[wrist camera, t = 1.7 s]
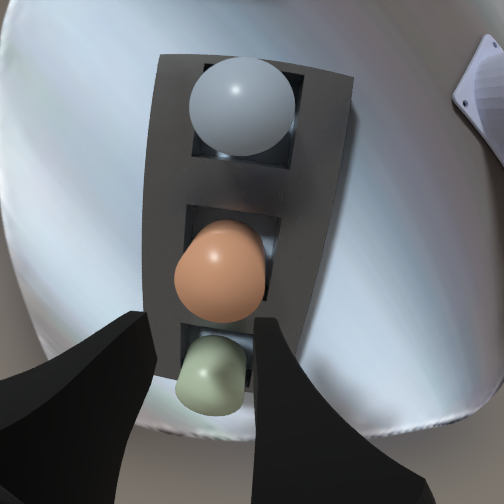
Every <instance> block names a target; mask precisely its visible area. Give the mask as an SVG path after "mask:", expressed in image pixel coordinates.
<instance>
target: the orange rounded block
mask: <svg viewBox="0 0 504 504" xmlns="http://www.w3.org/2000/svg"><path fill="white" fill-rule="evenodd" d="M174 283H175V288H176V292H177V294H178V296H179V298H180V300H181V301H182V303H183V304H184V305H185V307H186V308H187V309H188V310H189V311H191V312H192V313H193V314H195V315H196V316H198V317H200V318H202V319H204V320H207V321H211V322H216V323H230V322H235V321H238V320H241V319H243V318H245V317H247V316H249V315H250V314H251V313H252V312H254V311H255V310H256V308H257V307H258V306H259V304H260V303H261V301H262V298H263V295H264V290H265V249H264V245H263V242H262V240H261V238H260V237H259V235H258V234H257V233H256V232H255V231H254V230H253V229H252V228H251V227H250V226H248V225H247V224H245V223H242V222H240V221H236V220H230V219H223V220H217V221H214V222H212V223H210V224H208V225H206V226H205V227H204V228H203V229H201V230H200V232H199V233H198V234H197V236H196V237H195V238H194V240H193V241H192V243H191V244H190V246H189V247H188V249H187V250H186V252H185V253H184V254H183V256H182V257H181V259H180V261H179V262H178V264H177V267H176V270H175V276H174Z"/></svg>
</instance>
